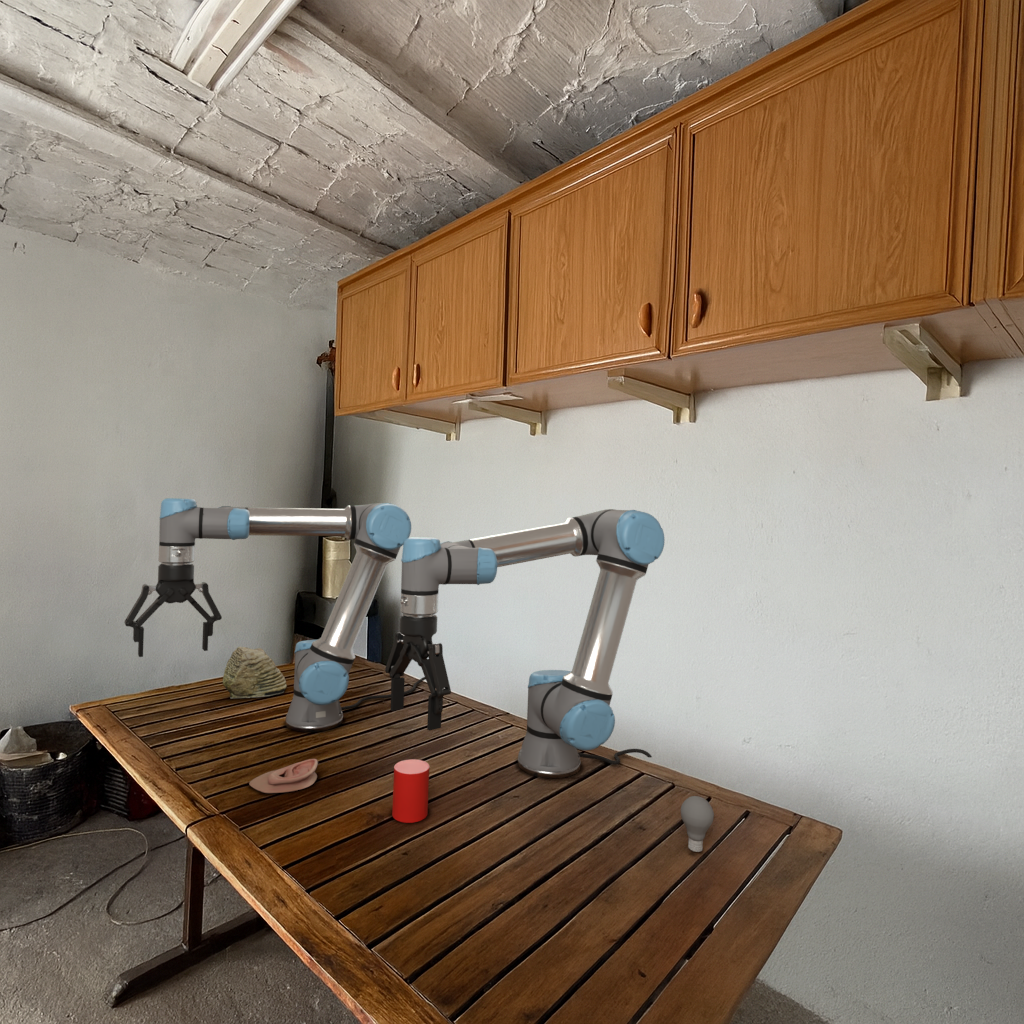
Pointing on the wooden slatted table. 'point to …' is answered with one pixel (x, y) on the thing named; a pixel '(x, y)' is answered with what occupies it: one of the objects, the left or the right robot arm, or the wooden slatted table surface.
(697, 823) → the light bulb
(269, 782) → the anatomical model
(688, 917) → the wooden slatted table surface
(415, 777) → the cylinder
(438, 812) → the wooden slatted table surface
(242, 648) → the fossil
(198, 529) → the left robot arm
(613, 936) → the wooden slatted table surface
